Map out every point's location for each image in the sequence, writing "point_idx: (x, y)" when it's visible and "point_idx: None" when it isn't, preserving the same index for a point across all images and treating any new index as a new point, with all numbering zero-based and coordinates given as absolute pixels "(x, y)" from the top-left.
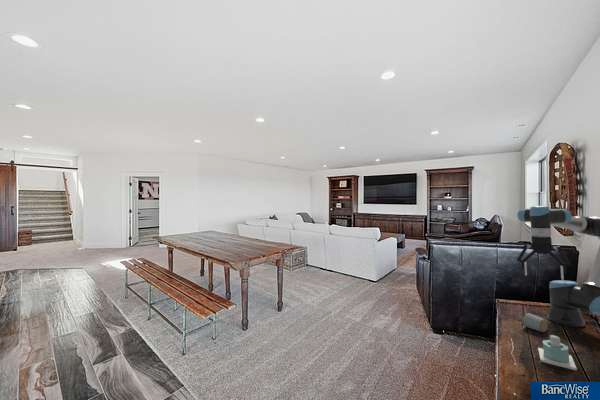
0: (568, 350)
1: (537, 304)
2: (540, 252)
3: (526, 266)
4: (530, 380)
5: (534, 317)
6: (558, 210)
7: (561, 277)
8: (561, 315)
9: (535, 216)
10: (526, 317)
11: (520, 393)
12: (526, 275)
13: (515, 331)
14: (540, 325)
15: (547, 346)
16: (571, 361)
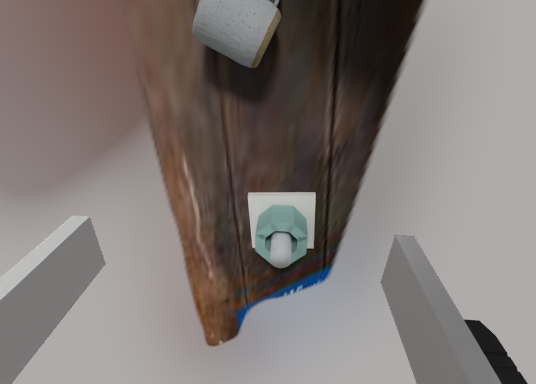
0: (305, 253)
1: None
2: None
3: (11, 324)
4: (237, 308)
5: (230, 38)
6: None
7: (389, 292)
8: None
9: None
10: (201, 38)
11: (227, 339)
12: (101, 263)
13: (185, 95)
14: (253, 67)
15: (264, 257)
16: (309, 225)
